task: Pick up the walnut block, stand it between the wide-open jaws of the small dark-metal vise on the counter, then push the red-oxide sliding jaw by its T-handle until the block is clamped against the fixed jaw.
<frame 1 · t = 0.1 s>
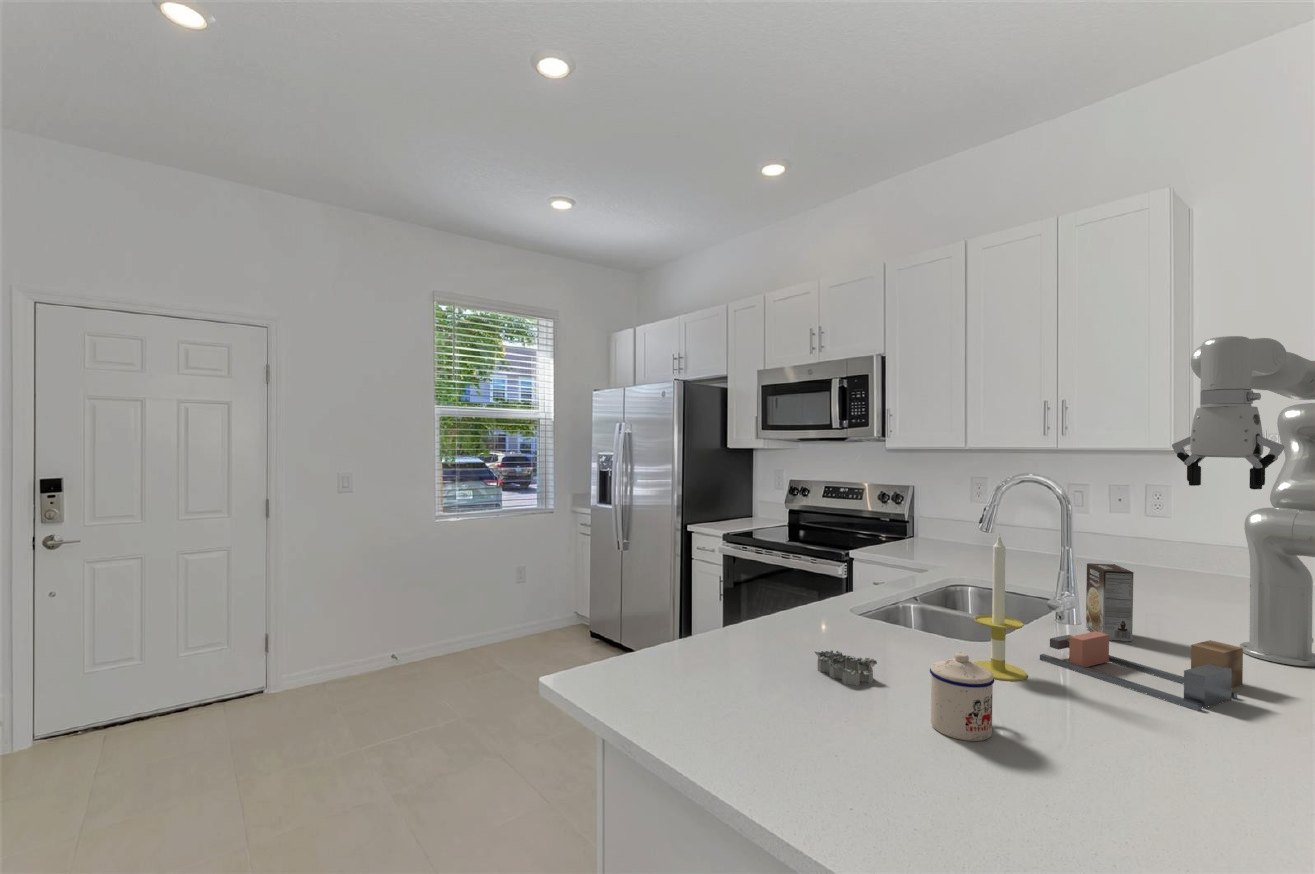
hand: (1224, 487, 124), 37 cm above the countertop, tool pointing down, fingers open, 9 cm apart
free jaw: (1077, 645, 131), point 3 cm above the countertop, slide at 0.0 cm
block: (1216, 683, 119), on the countertop
candle: (997, 672, 124), on the countertop
vise bed: (1207, 701, 111), on the countertop
teacup with lid: (965, 728, 99), on the countertop
egg carton: (844, 676, 121), on the countertop
coffee box: (1108, 636, 148), on the countertop
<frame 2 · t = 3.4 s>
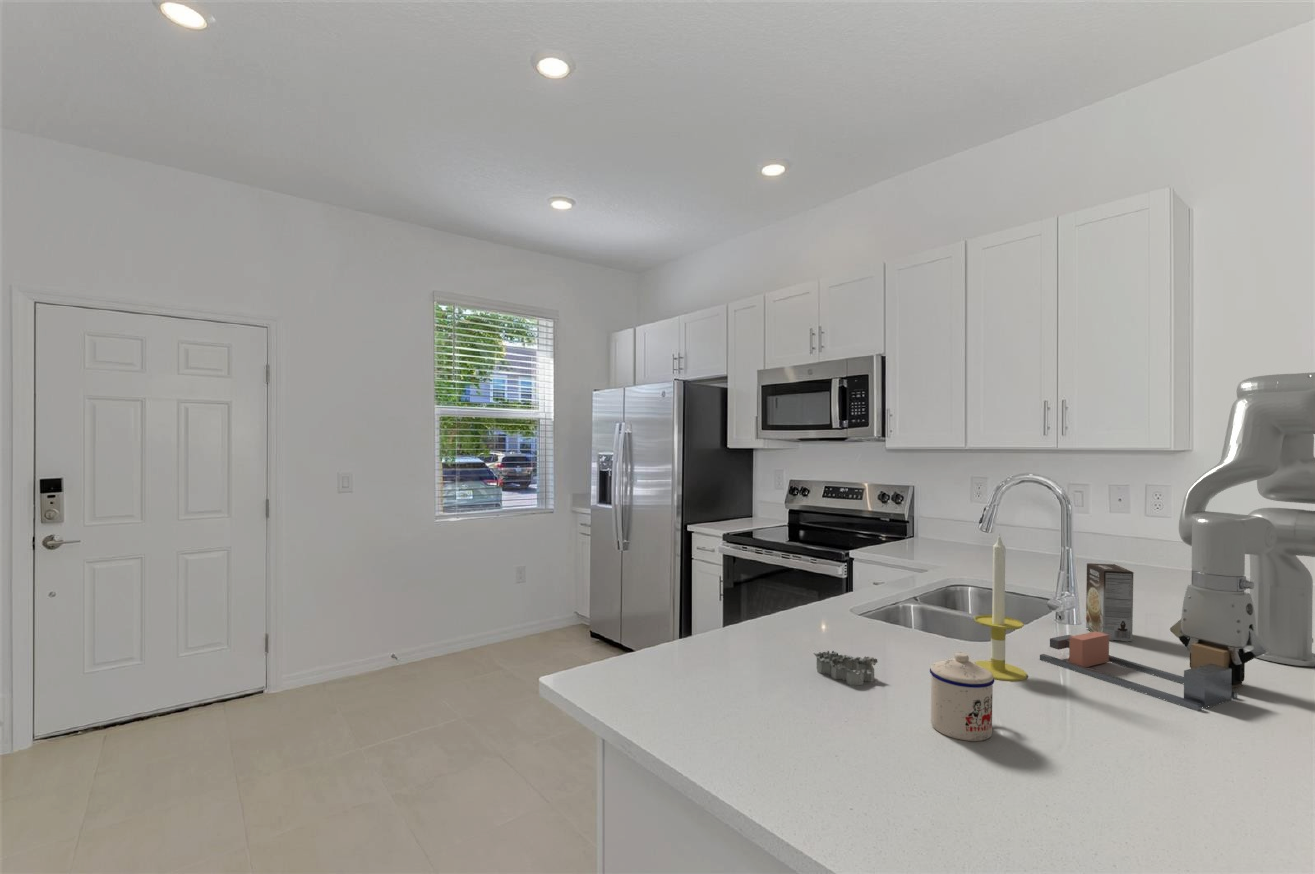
hand: (1216, 677, 119), 1 cm above the countertop, tool pointing down, fingers closed on block, 5 cm apart
block: (1216, 683, 119), on the countertop, touching gripper
everything else where it was.
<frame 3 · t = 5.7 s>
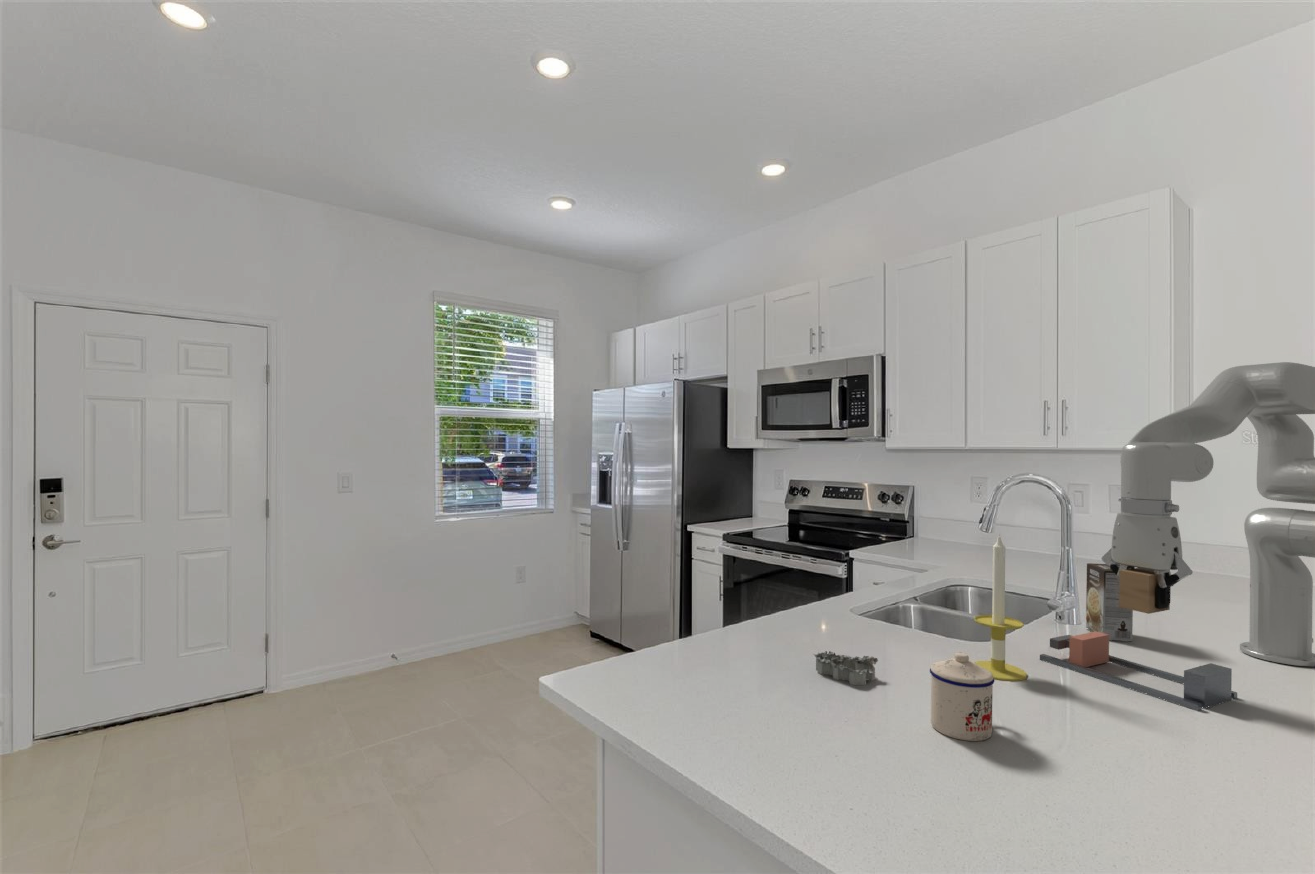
hand: (1144, 603, 120), 15 cm above the countertop, tool pointing down, fingers closed on block, 5 cm apart
block: (1144, 608, 120), point 14 cm above the countertop, touching gripper
everything else where it was.
when the fingers open (2 cm above the countertop, at t = 8.2 s): block drops 1 cm, resting in vise bed.
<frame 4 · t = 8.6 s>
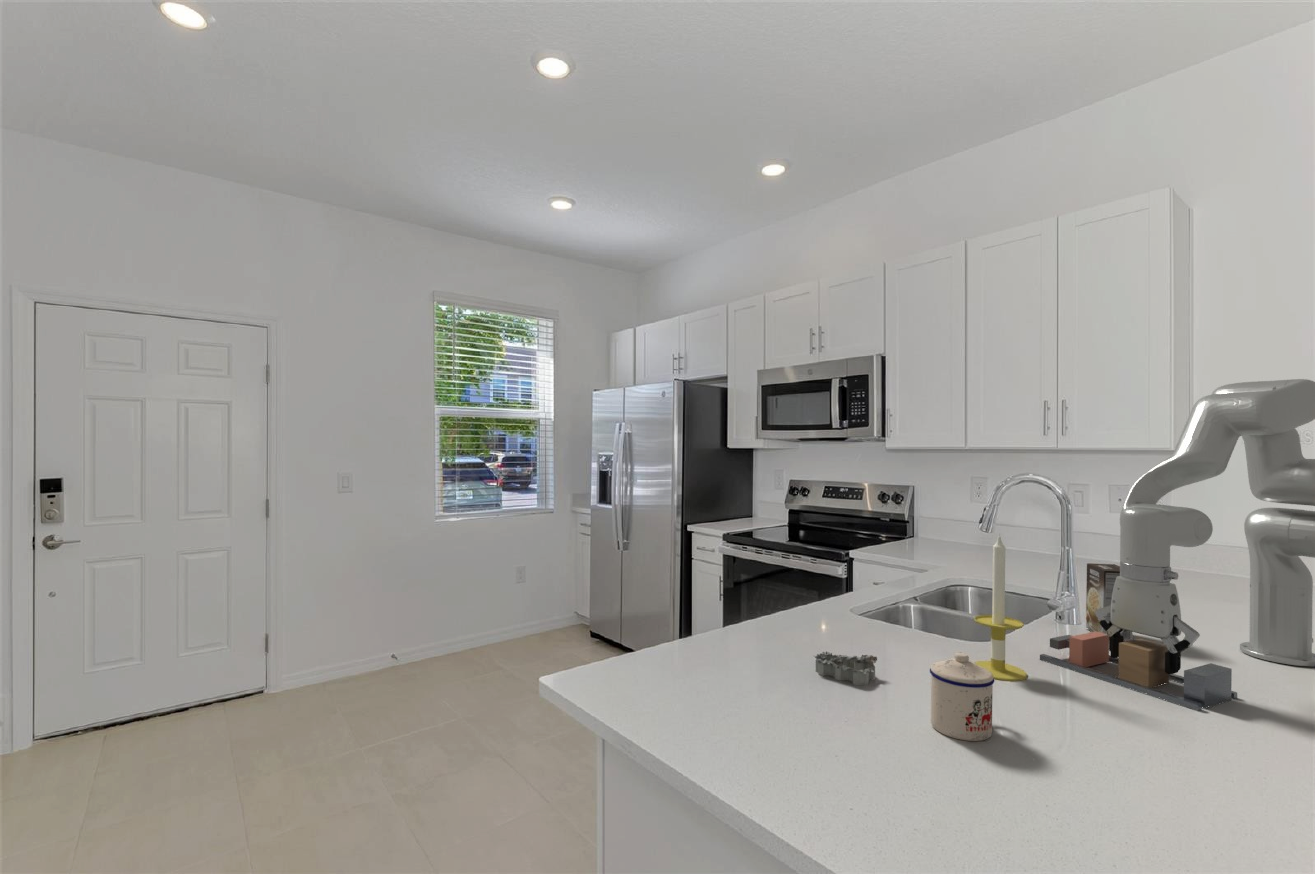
hand: (1143, 664, 120), 3 cm above the countertop, tool pointing down, fingers open, 8 cm apart
block: (1143, 681, 120), resting in vise bed
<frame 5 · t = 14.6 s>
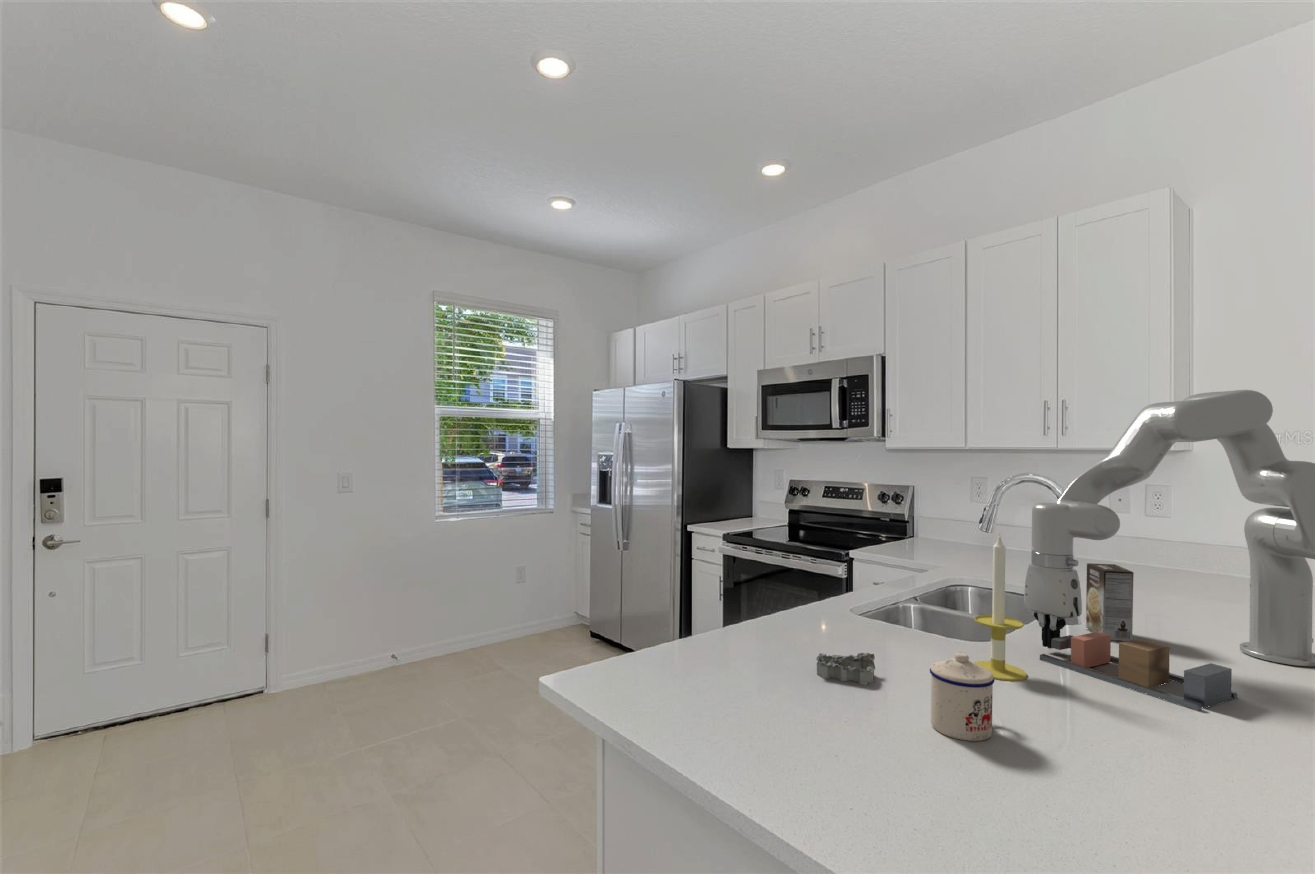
hand: (1050, 646, 136), 1 cm above the countertop, tool pointing down, fingers closed
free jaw: (1078, 646, 130), point 3 cm above the countertop, slide at 0.3 cm, touching gripper
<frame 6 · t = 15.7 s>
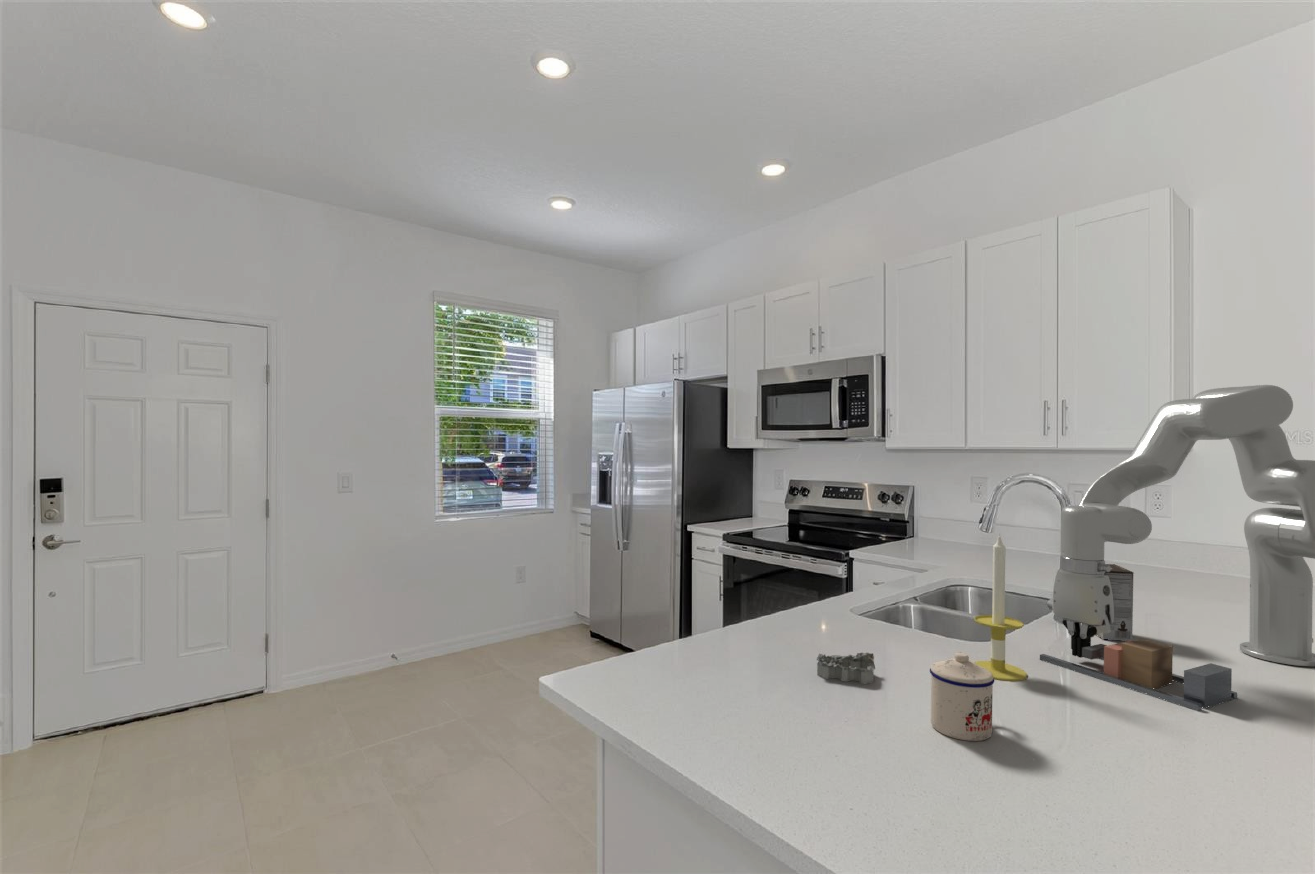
hand: (1080, 655, 130), 1 cm above the countertop, tool pointing down, fingers closed
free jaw: (1111, 655, 125), point 3 cm above the countertop, slide at 6.5 cm, touching block, gripper
block: (1146, 682, 119), resting in vise bed, touching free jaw
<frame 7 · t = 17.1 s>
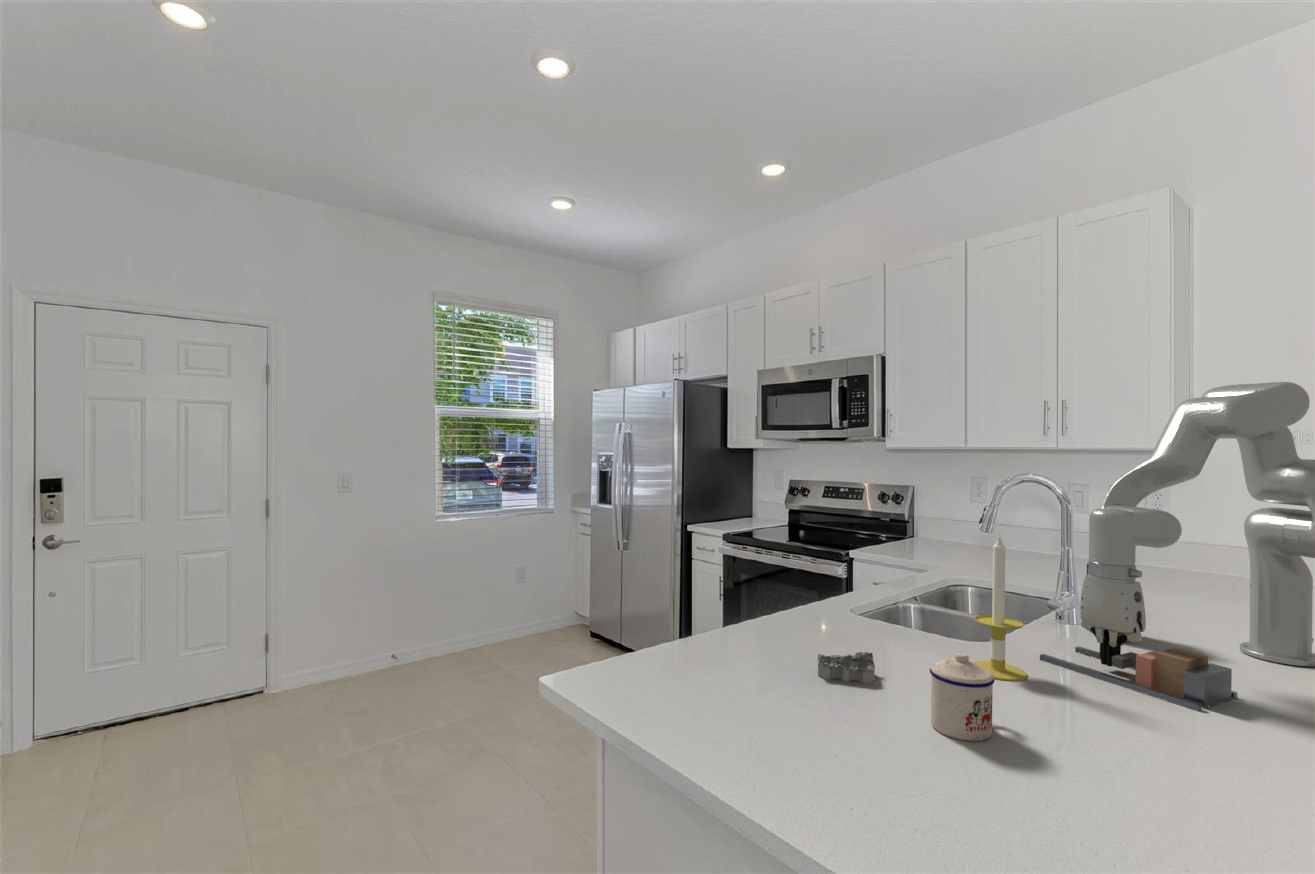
hand: (1109, 664, 125), 1 cm above the countertop, tool pointing down, fingers closed
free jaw: (1142, 664, 120), point 3 cm above the countertop, slide at 12.0 cm, touching block, gripper
block: (1181, 692, 114), resting in vise bed, touching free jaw
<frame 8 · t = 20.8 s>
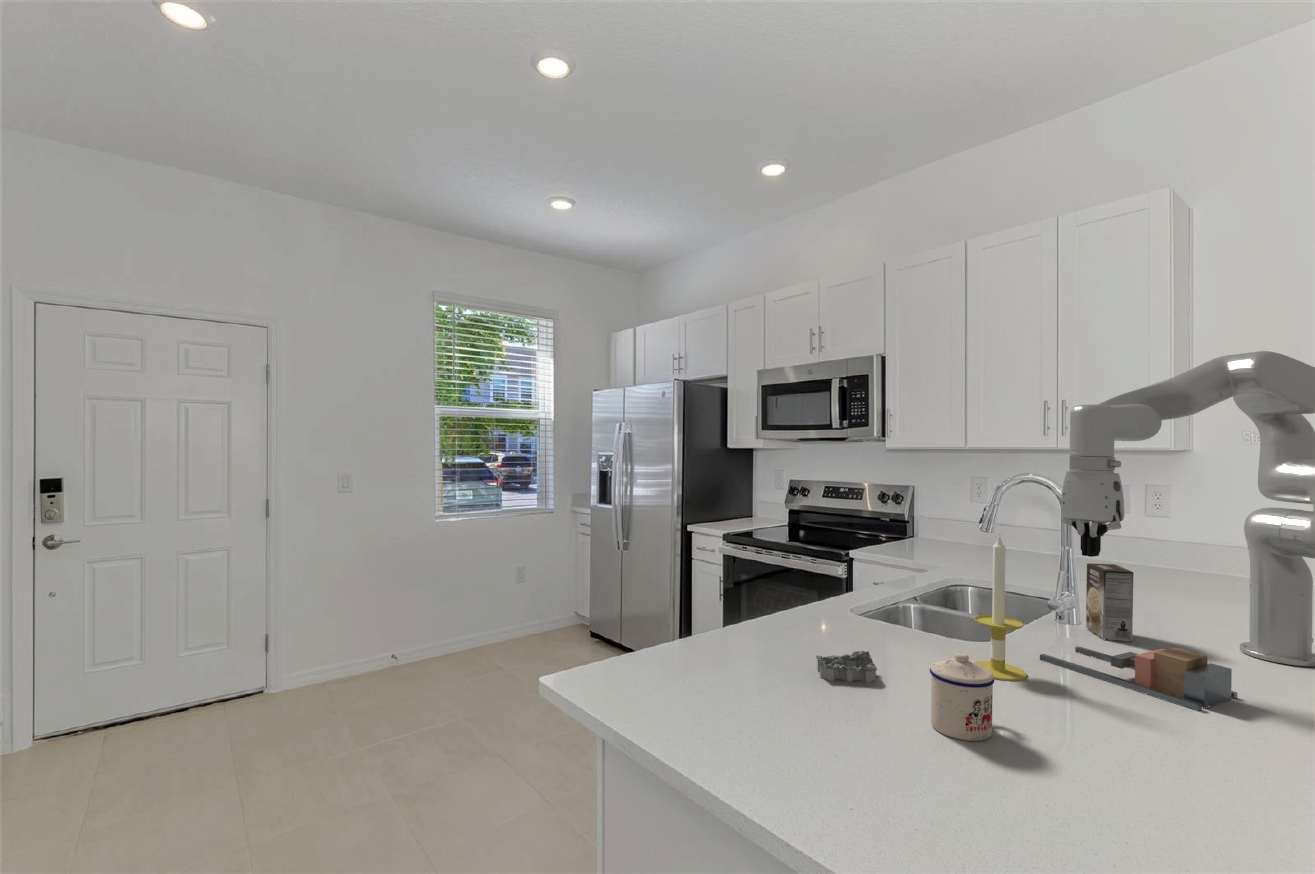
hand: (1090, 555, 129), 22 cm above the countertop, tool pointing down, fingers closed
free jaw: (1141, 664, 120), point 3 cm above the countertop, slide at 11.9 cm
block: (1180, 693, 114), resting in vise bed
at the end: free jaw slide at 11.9 cm; block inside the target area (0.4 cm from its centre), resting in vise bed; block tilted 0° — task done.
